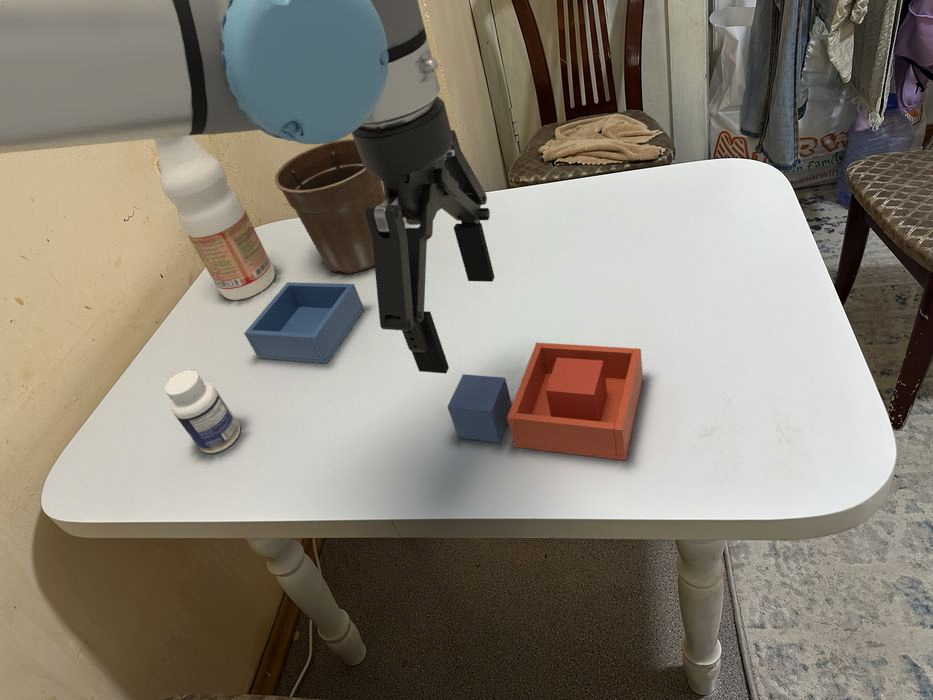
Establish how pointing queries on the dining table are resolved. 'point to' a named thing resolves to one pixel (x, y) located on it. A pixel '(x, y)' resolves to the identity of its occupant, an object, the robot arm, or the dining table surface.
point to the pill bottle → (202, 412)
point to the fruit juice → (213, 218)
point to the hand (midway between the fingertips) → (459, 321)
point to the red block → (577, 389)
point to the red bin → (575, 435)
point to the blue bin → (305, 322)
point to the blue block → (480, 407)
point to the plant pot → (333, 202)
